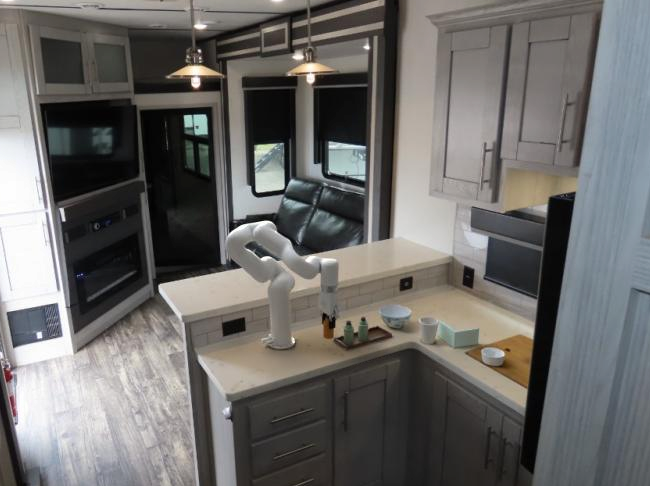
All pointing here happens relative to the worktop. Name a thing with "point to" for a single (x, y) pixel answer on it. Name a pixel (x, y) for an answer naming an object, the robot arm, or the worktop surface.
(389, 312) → the chinaware
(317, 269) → the robot arm
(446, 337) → the l-shaped corner panel
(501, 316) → the worktop surface
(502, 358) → the ramekin
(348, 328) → the green bottle
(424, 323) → the dixie cup
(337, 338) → the tray
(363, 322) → the green bottle
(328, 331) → the amber bottle
